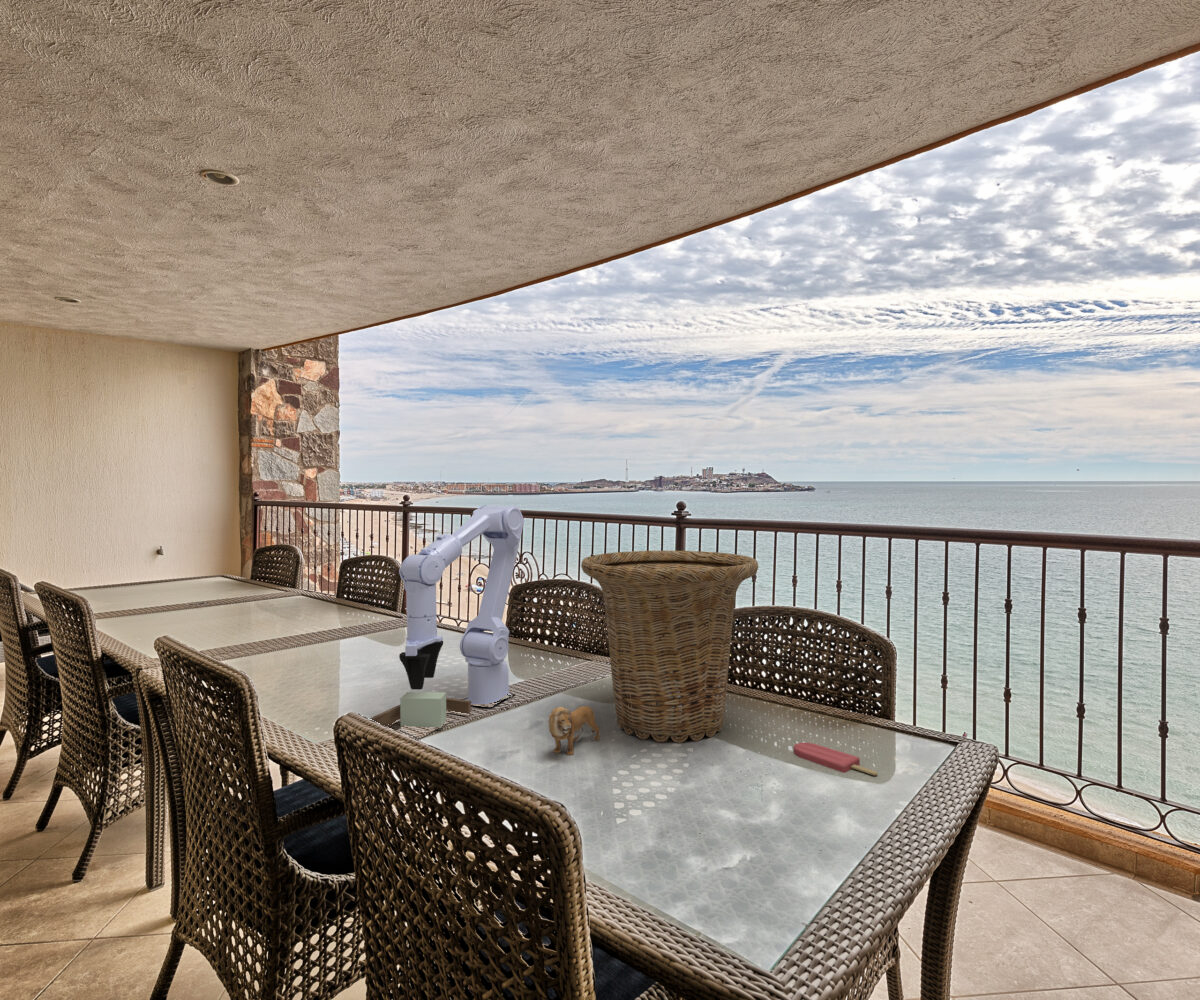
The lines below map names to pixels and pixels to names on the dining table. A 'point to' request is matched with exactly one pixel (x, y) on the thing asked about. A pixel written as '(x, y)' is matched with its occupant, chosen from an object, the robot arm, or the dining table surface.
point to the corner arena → (394, 715)
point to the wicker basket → (669, 637)
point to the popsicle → (829, 758)
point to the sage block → (423, 709)
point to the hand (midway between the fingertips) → (422, 683)
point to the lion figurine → (571, 725)
